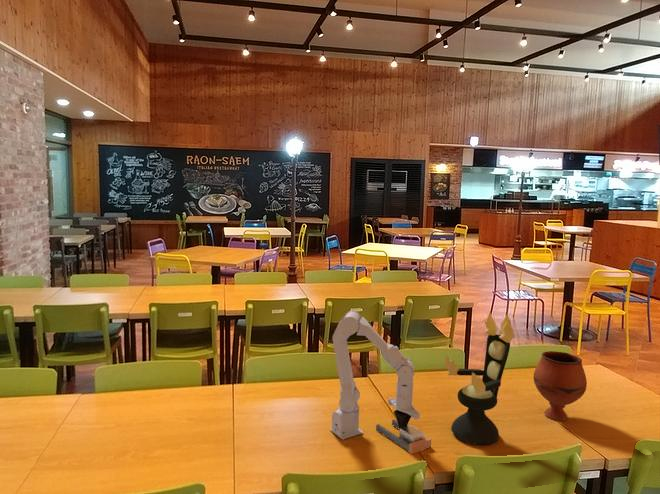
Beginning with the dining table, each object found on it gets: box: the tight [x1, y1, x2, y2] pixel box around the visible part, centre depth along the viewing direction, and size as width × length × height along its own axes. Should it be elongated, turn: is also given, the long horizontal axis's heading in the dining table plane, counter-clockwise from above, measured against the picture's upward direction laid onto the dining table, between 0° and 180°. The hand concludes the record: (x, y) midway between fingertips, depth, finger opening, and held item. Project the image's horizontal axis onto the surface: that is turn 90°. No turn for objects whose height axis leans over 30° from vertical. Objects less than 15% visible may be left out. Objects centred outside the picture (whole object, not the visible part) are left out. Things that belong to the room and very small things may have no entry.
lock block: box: [398, 424, 425, 444], centre depth 179 cm, size 5×7×5 cm
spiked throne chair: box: [444, 312, 515, 446], centre depth 186 cm, size 19×22×45 cm
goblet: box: [533, 350, 588, 422], centre depth 203 cm, size 19×19×25 cm
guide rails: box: [375, 418, 432, 454], centre depth 183 cm, size 9×20×3 cm, turn 33°
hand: (402, 430), depth 183 cm, fingers closed
